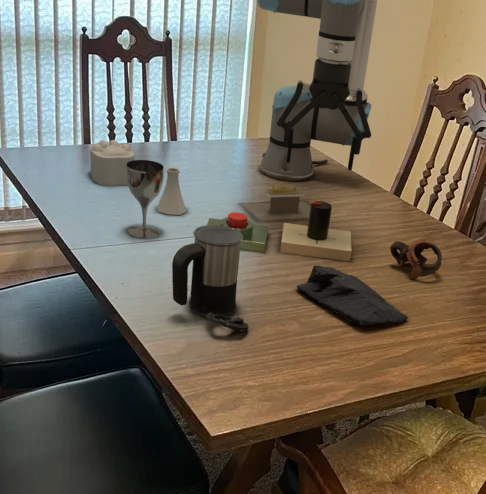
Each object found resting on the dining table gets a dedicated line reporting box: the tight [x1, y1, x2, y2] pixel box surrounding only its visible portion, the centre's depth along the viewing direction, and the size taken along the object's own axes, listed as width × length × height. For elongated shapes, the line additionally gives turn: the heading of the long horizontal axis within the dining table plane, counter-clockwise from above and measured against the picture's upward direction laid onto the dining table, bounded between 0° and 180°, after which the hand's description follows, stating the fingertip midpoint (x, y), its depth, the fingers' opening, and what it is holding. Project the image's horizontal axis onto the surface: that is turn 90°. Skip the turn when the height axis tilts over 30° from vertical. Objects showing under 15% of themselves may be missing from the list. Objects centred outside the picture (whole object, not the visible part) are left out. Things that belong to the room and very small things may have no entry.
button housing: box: [206, 216, 269, 253], centre depth 176 cm, size 14×11×4 cm
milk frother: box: [171, 224, 250, 333], centre depth 141 cm, size 14×16×15 cm
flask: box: [156, 166, 187, 216], centre depth 184 cm, size 7×7×10 cm
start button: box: [227, 211, 248, 227], centre depth 174 cm, size 4×4×2 cm
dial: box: [307, 200, 333, 240], centre depth 175 cm, size 5×5×8 cm
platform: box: [241, 184, 311, 219], centre depth 194 cm, size 12×18×7 cm, turn 114°
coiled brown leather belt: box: [389, 240, 443, 280], centre depth 173 cm, size 12×10×8 cm
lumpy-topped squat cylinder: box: [89, 139, 135, 187], centre depth 199 cm, size 10×13×9 cm
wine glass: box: [126, 159, 165, 239], centre depth 170 cm, size 8×8×15 cm
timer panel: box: [279, 222, 353, 262], centre depth 178 cm, size 16×12×3 cm
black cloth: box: [296, 264, 409, 326], centre depth 155 cm, size 15×22×5 cm
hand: (319, 164), depth 169 cm, fingers open, 13 cm apart
